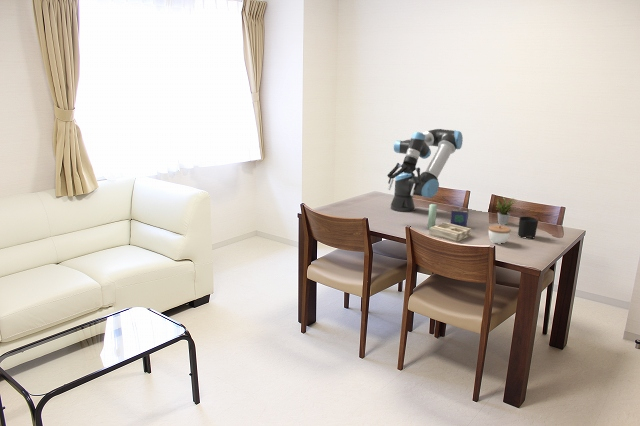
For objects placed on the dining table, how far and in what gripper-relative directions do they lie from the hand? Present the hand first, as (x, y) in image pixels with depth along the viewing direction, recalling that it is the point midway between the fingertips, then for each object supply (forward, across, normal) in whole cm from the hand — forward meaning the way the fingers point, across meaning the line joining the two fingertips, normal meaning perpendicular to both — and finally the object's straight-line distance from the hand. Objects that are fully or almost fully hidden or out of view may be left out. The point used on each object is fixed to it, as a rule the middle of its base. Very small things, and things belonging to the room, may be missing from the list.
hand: (400, 192), depth 291 cm
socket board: (+16, +34, +2) cm, 37 cm away
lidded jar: (+13, +58, +3) cm, 60 cm away
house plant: (-6, +56, +37) cm, 67 cm away
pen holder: (+3, +70, +19) cm, 72 cm away
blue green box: (+6, +33, +20) cm, 39 cm away
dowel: (+15, +22, +7) cm, 27 cm away
